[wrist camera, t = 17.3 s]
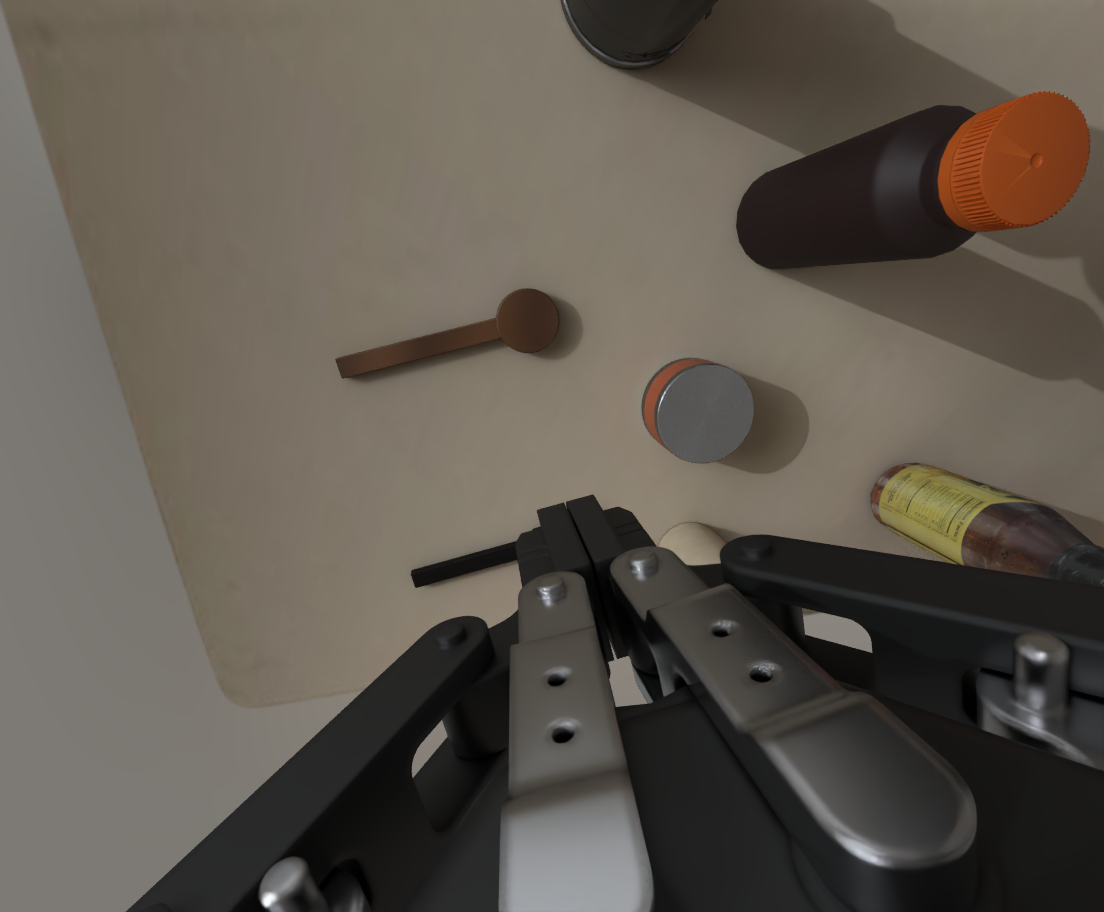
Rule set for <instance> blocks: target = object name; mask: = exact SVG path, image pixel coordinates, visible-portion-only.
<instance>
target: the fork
mask: <svg viewBox="0 0 1104 912" xmlns="http://www.w3.org/2000/svg"><path fill="white" fill-rule="evenodd" d="M539 528H541V527H538V528H534V529H533V530H536V529H539ZM516 542H517V541H515V542H512V543H508V544H505V545H501V546H497V547H494V548H490V549H487V550H483V551H479V552H476V553H472V554H469V555H465V556H461V557H458V558H454V559H451V560H447V561H443V562H440V563H436V564H433V565H429V566H425V567H422V568H418V569H414V570H412V571H411V576H412V579H413V582H414V585H415V587H416V588H417V587H421V586H425V585H428V584H432V583H435V582H439V581H442V580H446V579H450V578H453V577H457V576H460V575H464V574H468V573H471V572H475V571H478V570H482V569H485V568H489V567H493V566H496V565H500V564H503V563H507V562H510V561H514V560H518V559H517V554H516V548H515V543H516Z"/></svg>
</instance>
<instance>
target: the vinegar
mask: <svg viewBox="0 0 1104 912" xmlns="http://www.w3.org/2000/svg"><path fill="white" fill-rule="evenodd" d="M1059 94H1060V93H1058V94H1055V92H1053V93H1050V91H1049V92H1046V93H1045V91H1044V92H1037V93H1032V94H1029V95H1026V96H1023V97H1020V98H1018V99H1015V100H1012V101H1009V102H1006V103H1003V104H1001V105H999V106H996V107H993V108H991V109H988V110H985V111H982V112H979V113H977V114H976V113H974V112H972V111H970V110H968V109H966V108H964V107H961V106H945V105H938V106H934V107H931V108H928V109H925V110H922V111H919V112H916V113H913V114H911V115H908V116H906V117H903V118H901V119H898V120H896V121H893V122H891V123H889V124H886V125H884V126H881V127H879V128H876V129H874V130H871V131H869V132H866V133H864V134H861V135H859V136H856V137H854V138H851V139H849V140H846V141H844V142H841V143H839V144H836V145H834V146H831V147H829V148H826V149H824V150H821V151H819V152H816V153H814V154H811V155H809V156H806V157H804V158H801V159H799V160H796V161H794V162H791V163H789V164H786V165H784V166H781V167H779V168H776V169H774V170H771V171H769V172H766V173H765V174H764V175H762V176H761V177H760V178H758V179H757V180H756V181H754V182H753V183H752V185H751V186H750V187H749V189H748V190H747V192H746V193H745V194H744V196H743V198H742V201H741V203H740V206H739V209H738V212H737V224H736V228H737V233H738V238H739V242H740V244H741V246H742V247H743V249H744V251H745V253H746V254H747V255H748V256H749V257H750V258H751V259H752V260H753V261H755V262H756V263H757V264H759V265H762V266H765V267H767V268H770V269H786V268H800V267H813V266H827V265H841V264H854V263H868V262H882V261H895V260H909V259H923V258H932V257H936V256H938V255H941V254H944V253H947V252H950V251H953V250H955V249H956V248H957V247H959V246H960V245H962V244H963V243H964V242H966V241H967V240H968V239H970V238H971V237H972V236H974V234H975V233H976V232H988V231H997V230H1004V229H1013V228H1021V227H1029V226H1034V225H1035V224H1039V223H1040V222H1044V220H1048V218H1049V217H1053V214H1057V211H1058V210H1061V208H1062V207H1063V206H1066V205H1065V204H1066V203H1067V202H1069V199H1070V198H1071V197H1073V194H1074V193H1075V192H1076V190H1077V188H1078V187H1079V184H1080V182H1082V178H1083V176H1084V174H1085V170H1086V166H1087V165H1088V164H1087V162H1088V159H1089V158H1088V157H1089V153H1090V146H1089V142H1090V140H1089V136H1090V135H1089V129H1088V127H1087V125H1088V124H1086V119H1085V118H1084V115H1083V114H1082V113H1081V110H1079V109H1078V107H1079V106H1078V107H1077V106H1076V105H1075V103H1073V102H1072V100H1068V97H1066V98H1064V95H1059Z"/></svg>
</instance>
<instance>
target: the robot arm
mask: <svg viewBox="0 0 1104 912" xmlns="http://www.w3.org/2000/svg"><path fill="white" fill-rule="evenodd" d="M717 1H718V0H561V4H562V8H563V11H564V14H565V17H566V20H567V22H568V24H569V26H570V28H571V30H572V32H573V33H574V35H575V36H576V38H577V39H578V40H579V42H580V43H581V44H582V45H583V46H584V47H585V48H586V49H587V50H588V51H589V52H590V53H591V54H592V55H594V56H595V57H597V58H598V59H600V60H601V61H603V62H605V63H607V64H610V65H612V66H616V67H619V68H625V69H640V68H646V67H649V66H653V65H655V64H657V63H660V62H661V61H663V60H665V59H666V58H668V57H669V56H671V55H672V54H673V53H674V52H675V51H677V49H678V48H679V47H680V46H681V45H682V44H683V43H684V42H685V41H686V39H687V38H688V37H689V36H690V34H691V33H692V31H693V30H694V28H695V26H696V25H697V24H698V23H699V22H700V21H701V19H702V18H703V17H704V16H705V19H706V18H707V17H708V16H709V15H710V13H711V10H712V7H713V5H714V4H715V3H716V2H717ZM566 506H567V508H566ZM566 506H565V504H564V503H560V504H557V505H553V506H549V507H546V508H542V509H538V510H537V514H538V518H539V521H540V525H541V528H539V529H536V530H532V531H529V532H525V533H521V535H520V537H519V538H518V540H517V542H516V543H515V548H516V554H517V559H518V564H519V571H520V576H521V582H522V589H521V591H520V592H519V595H518V610H517V611H516V612H515V613H514V614H513V615H512V616H510V617H509V618H508V619H506V620H504V621H503V622H501V623H499V624H497V625H495V626H493V627H491V628H489V629H488V627H487V624H486V622H485V621H484V620H482V619H481V618H478V617H474V616H462V617H456V618H452V619H449V620H446V621H444V622H442V623H440V624H438V625H436V626H434V627H433V628H431V629H430V630H429V631H427V632H426V633H425V634H424V635H423V636H422V637H421V638H420V639H418V640H417V641H416V642H415V643H414V644H413V645H412V646H411V647H410V648H409V649H408V650H407V651H406V652H405V653H403V654H402V655H401V656H400V657H399V658H398V659H397V660H396V661H395V662H394V663H393V664H392V665H391V666H389V667H388V668H387V669H386V670H385V671H384V672H383V673H382V674H381V675H380V676H379V677H378V678H377V679H376V680H374V681H373V682H372V683H371V684H370V685H369V686H368V687H367V688H366V689H365V690H364V691H363V692H362V693H360V694H359V695H358V696H357V697H356V698H355V699H354V700H353V701H352V702H351V703H350V704H349V705H348V706H347V707H345V708H344V709H343V710H342V711H341V712H340V713H339V714H338V715H337V716H336V717H335V718H334V719H333V720H331V721H330V722H329V723H328V724H327V725H326V726H325V727H324V728H323V729H322V730H321V731H320V732H319V733H318V734H316V735H315V736H314V737H313V738H312V739H311V740H310V741H309V742H308V743H307V744H306V745H305V746H304V747H303V748H301V749H300V751H298V752H297V753H296V754H295V755H294V756H293V757H292V758H291V759H290V760H289V761H287V762H286V763H285V764H284V765H283V766H282V767H281V768H280V769H279V770H278V771H277V772H276V773H275V774H273V775H272V776H271V777H270V778H269V779H268V780H267V781H266V782H265V783H264V784H263V785H262V786H261V787H259V788H258V789H257V790H256V791H255V792H254V793H253V794H252V795H251V796H250V797H249V798H248V799H247V800H245V801H244V802H243V803H242V804H241V805H240V806H239V807H238V808H237V809H236V810H235V811H234V812H233V813H232V814H230V815H229V816H228V817H227V818H226V819H225V820H224V821H223V822H222V823H221V824H220V825H219V826H218V827H217V828H215V829H214V830H213V831H212V832H211V833H210V834H209V835H208V836H207V837H206V838H205V839H204V840H202V841H201V842H200V843H199V844H198V845H197V846H196V847H195V848H194V849H193V850H192V851H191V852H190V853H189V854H187V855H186V856H185V857H184V858H183V859H182V860H181V861H180V862H179V863H178V864H177V865H176V866H175V867H174V868H172V869H171V870H170V871H169V872H168V873H167V874H166V875H165V876H164V877H163V878H162V879H161V880H159V881H158V882H157V883H156V884H155V885H154V886H153V887H152V888H151V889H150V890H149V891H148V892H147V893H146V894H145V895H143V896H142V897H141V898H140V899H139V900H138V901H137V902H136V903H135V904H134V905H133V906H132V907H131V908H129V909H128V910H127V911H126V912H1104V587H1100V586H1093V585H1087V584H1080V583H1074V582H1067V581H1061V580H1055V579H1048V578H1042V577H1035V576H1029V575H1023V574H1016V573H1010V572H1003V571H997V570H990V569H984V568H978V567H971V566H965V565H958V564H952V563H946V562H939V561H933V560H926V559H920V558H913V557H907V556H901V555H894V554H888V553H881V552H875V551H869V550H862V549H856V548H849V547H843V546H836V545H830V544H824V543H817V542H811V541H804V540H798V539H792V538H785V537H779V536H772V535H749V536H744V537H740V538H737V539H734V540H732V541H730V542H728V543H727V544H726V545H724V546H723V547H722V549H721V551H720V561H721V563H718V564H707V565H686V564H685V563H684V562H683V561H682V560H681V559H680V558H679V557H678V556H677V555H676V554H675V553H674V552H673V551H671V550H669V549H666V548H663V547H657V546H656V545H655V543H654V542H653V541H652V539H651V538H650V536H649V535H648V534H647V532H646V531H645V530H644V529H643V527H642V525H641V524H640V523H639V522H638V520H637V519H636V517H635V516H634V515H633V513H632V512H630V511H628V510H625V509H623V508H620V507H615V508H611V509H608V510H604V511H603V510H602V508H601V506H600V505H599V503H598V501H597V500H596V498H595V496H594V495H589V496H586V497H582V498H578V499H575V500H571V501H567V502H566ZM802 608H806V609H810V610H815V611H819V612H823V613H827V614H831V615H835V616H840V617H844V618H848V619H851V620H853V621H855V622H857V623H858V624H860V625H861V626H862V627H863V628H864V629H865V630H866V631H867V632H868V634H869V636H870V638H871V641H872V652H873V653H870V652H866V651H863V650H859V649H856V648H852V647H848V646H844V645H841V644H837V643H833V642H829V641H826V640H822V639H818V638H815V637H811V636H808V635H805V630H804V622H803V614H802ZM609 640H610V641H609ZM610 642H611V645H612V647H613V650H614V652H615V655H616V657H617V659H619V658H622V657H626V656H629V657H630V659H631V663H632V667H633V672H634V676H635V680H636V683H637V685H638V687H639V689H640V691H641V693H642V694H643V696H644V698H645V700H646V702H647V703H648V704H641V705H632V706H622V707H616V706H615V701H614V698H613V693H612V689H611V685H610V681H609V678H610V668H609V664H608V662H609V661H613V660H614V657H613V653H612V649H611V645H610ZM441 720H442V721H443V724H444V727H445V730H446V732H447V735H448V737H447V738H446V739H445V741H444V742H443V743H442V744H441V745H440V746H439V748H438V749H437V750H436V751H435V752H434V754H433V755H432V756H431V757H430V758H429V760H428V761H427V762H426V763H425V764H424V766H423V767H422V768H421V769H420V771H419V772H418V773H417V774H416V775H415V776H414V778H413V777H412V772H411V771H412V762H413V758H414V755H415V753H416V751H417V749H418V747H419V746H420V744H421V743H422V742H423V741H424V740H425V738H426V737H427V736H428V735H429V734H430V733H431V731H432V730H433V729H434V728H435V727H436V726H437V725H438V723H439V722H440V721H441Z"/></svg>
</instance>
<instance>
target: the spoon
mask: <svg viewBox="0 0 1104 912" xmlns="http://www.w3.org/2000/svg"><path fill="white" fill-rule="evenodd" d="M558 327H559V314H558V311H557V308H556V306H555V304H554V302H553V301H552V300H551V299H550V298H549V297H548V296H547V295H546V294H544V293H543V292H541V291H538V290H535V289H519V290H516V291H514V292H512V293H510V294H509V295H507V296H506V297H505V298H504V299H503V301H502V302H501V304H500V305H499V307H498V310H497V314H496V318H494V319H490V320H486V321H482V322H478V323H474V324H470V325H466V326H462V327H458V328H454V329H450V330H446V331H442V332H438V333H434V334H430V335H426V336H422V337H418V338H414V339H410V340H407V341H403V342H399V343H395V344H391V345H387V346H383V347H379V348H375V349H371V350H367V351H363V352H359V353H355V354H351V355H347V356H343V357H339V358H337V359H335V360H336V363H337V366H338V369H339V372H340V374H341V377H342V378H347V377H351V376H355V375H359V374H363V373H367V372H370V371H374V370H378V369H382V368H386V367H390V366H394V365H398V364H402V363H406V362H410V361H414V360H418V359H422V358H425V357H429V356H433V355H437V354H441V353H445V352H449V351H453V350H457V349H461V348H465V347H469V346H473V345H477V344H481V343H484V342H488V341H492V340H496V339H500V338H502V340H503V341H504V342H505V343H506V344H507V345H508V346H509V347H511V348H512V349H514V350H516V351H519V352H523V353H533V352H537V351H540V350H542V349H544V348H545V347H547V346H548V345H549V344H550V343H551V342H552V341H553V339H554V338H555V336H556V334H557V331H558Z"/></svg>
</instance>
